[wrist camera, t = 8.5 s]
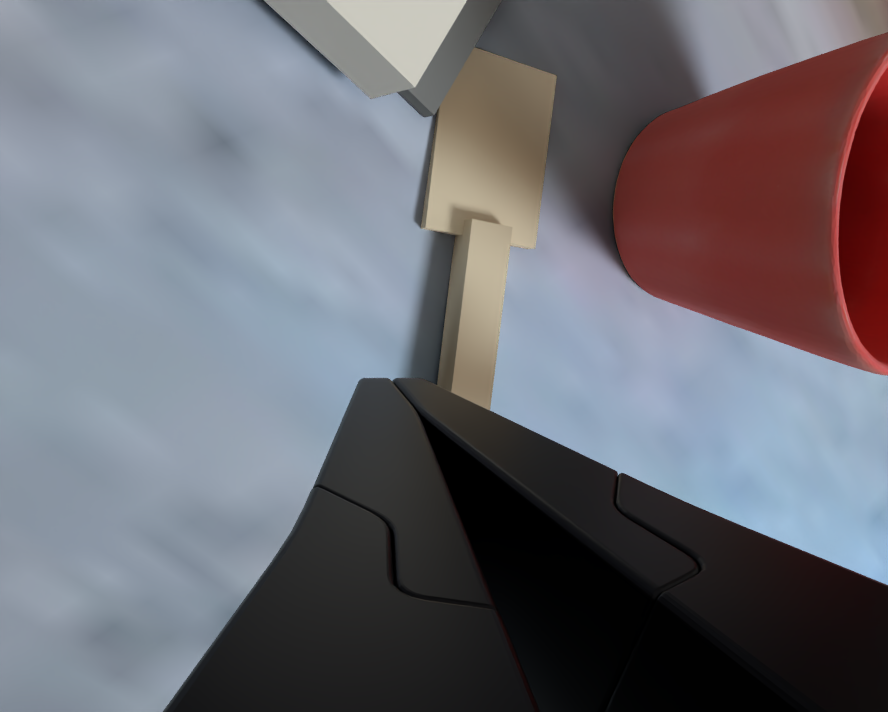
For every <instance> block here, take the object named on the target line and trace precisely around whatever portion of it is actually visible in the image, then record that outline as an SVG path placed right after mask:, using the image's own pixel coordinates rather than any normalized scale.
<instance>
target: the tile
mask: <svg viewBox="0 0 888 712" xmlns="http://www.w3.org/2000/svg"><path fill="white" fill-rule="evenodd" d="M264 1H265V2H266V3H267V4H268V5H269V6H270V7H271V8H273V9H274V10H275V11H276V12H277V13H278V14H279V15H280V16H281V17H282V18H283V19H285V20H286V21H287V22H288V23H289V24H290V25H291V26H292V27H293V28H294V29H295V30H296V31H298V32H299V33H300V34H301V35H302V36H303V37H304V38H305V39H306V40H307V41H308V42H309V43H311V44H312V45H313V46H314V47H315V48H316V49H317V50H318V51H319V52H320V53H321V54H323V55H324V56H325V57H326V58H327V59H328V60H329V61H330V62H331V63H332V64H333V65H334V66H336V67H337V68H338V69H339V70H340V71H341V72H342V73H343V74H344V75H345V76H346V77H348V78H349V79H350V80H351V81H352V82H353V83H354V84H355V85H356V86H357V87H358V88H359V89H361V90H362V91H363V92H364V93H365V94H366V95H367V96H368V97H369V98H370V99H373V98H377V97H381V96H384V95H388V94H392V93H396V92H400V91H404V90H408V89H411V88H415V87H416V85H417V84H418V82H419V80H420V78H421V77H422V75H423V73H424V72H425V70H426V68H427V67H428V65H429V63H430V62H431V60H432V58H433V57H434V55H435V53H436V52H437V50H438V48H439V47H440V45H441V43H442V42H443V40H444V38H445V37H446V35H447V33H448V32H449V30H450V28H451V26H452V25H453V23H454V21H455V20H456V18H457V16H458V15H459V13H460V11H461V10H462V8H463V6H464V5H465V3H466V1H467V0H264Z"/></svg>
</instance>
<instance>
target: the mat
mask: <svg viewBox="0 0 888 712" xmlns="http://www.w3.org/2000/svg"><path fill="white" fill-rule="evenodd" d="M501 1H502V0H467V1H466V3H465V5H464V6H463V8H462V10H461V11H460V13H459V15H458V16H457V18H456V20H455V21H454V23H453V25H452V26H451V28H450V30H449V32H448V33H447V35H446V37H445V38H444V40H443V42H442V43H441V45H440V47H439V48H438V50H437V52H436V53H435V55H434V57H433V58H432V60H431V62H430V63H429V65H428V67H427V68H426V70H425V72H424V73H423V75H422V77H421V78H420V80H419V82H418V84H417V85H416V87H415V88H411V89H408V90H404V91H400V92H398V93H399V94H400V95H401V96H402V97H403V98H404V99H405V100H406V101H407V102H408V103H409V104H410V105H412V106H413V107H414V108H415V109H416V110H417V111H418V112H419V113H420V114H421V115H422V116H423V117H428V116H433V115H435V113H436V112H437V110H438V108H439V106H440V105H441V103H442V101H443V100H444V98H445V96H446V95H447V93H448V91H449V89H450V88H451V86H452V84H453V83H454V81H455V79H456V78H457V76H458V74H459V72H460V71H461V69H462V67H463V66H464V64H465V62H466V61H467V59H468V57H469V55H470V54H471V52H472V50H473V49H474V47H475V45H476V44H477V42H478V40H479V38H480V37H481V35H482V33H483V32H484V30H485V28H486V27H487V25H488V23H489V21H490V20H491V18H492V16H493V15H494V13H495V11H496V9H497V8H498V6H499V4H500V3H501Z"/></svg>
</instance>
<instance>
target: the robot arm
mask: <svg viewBox="0 0 888 712" xmlns="http://www.w3.org/2000/svg"><path fill="white" fill-rule="evenodd" d="M163 712H888V585H886V584H883V583H881V582H878V581H876V580H873V579H871V578H869V577H866V576H864V575H861V574H859V573H856V572H854V571H851V570H849V569H847V568H844V567H842V566H839V565H837V564H834V563H832V562H829V561H827V560H824V559H822V558H820V557H817V556H815V555H812V554H810V553H807V552H805V551H802V550H800V549H797V548H795V547H793V546H790V545H788V544H785V543H783V542H780V541H778V540H775V539H773V538H770V537H768V536H766V535H763V534H761V533H758V532H756V531H753V530H751V529H748V528H746V527H744V526H741V525H739V524H736V523H734V522H731V521H729V520H727V519H724V518H722V517H720V516H717V515H715V514H713V513H710V512H708V511H705V510H703V509H701V508H698V507H696V506H694V505H691V504H689V503H687V502H684V501H682V500H680V499H678V498H676V497H673V496H671V495H669V494H667V493H665V492H662V491H660V490H658V489H656V488H654V487H652V486H649V485H647V484H645V483H643V482H641V481H639V480H637V479H635V478H632V477H630V476H628V475H626V474H624V473H620V474H619V475H618V473H617V471H615V470H613V469H611V468H609V467H607V466H605V465H603V464H601V463H598V462H596V461H594V460H592V459H590V458H588V457H586V456H584V455H582V454H580V453H578V452H575V451H573V450H571V449H569V448H567V447H565V446H563V445H561V444H559V443H557V442H555V441H552V440H550V439H548V438H546V437H544V436H542V435H540V434H538V433H536V432H534V431H531V430H529V429H527V428H525V427H523V426H521V425H519V424H517V423H515V422H513V421H511V420H508V419H506V418H504V417H502V416H500V415H498V414H496V413H494V412H492V411H490V410H488V409H485V408H483V407H481V406H479V405H477V404H475V403H473V402H471V401H469V400H467V399H465V398H462V397H460V396H458V395H456V394H454V393H452V392H450V391H448V390H446V389H444V388H441V387H439V386H437V385H435V384H433V383H431V382H429V381H427V380H425V379H421V378H396V379H394V380H393V381H391V380H390V379H388V378H362V379H360V381H359V382H358V384H357V386H356V389H355V391H354V393H353V396H352V398H351V400H350V403H349V405H348V407H347V410H346V412H345V414H344V417H343V419H342V421H341V424H340V426H339V428H338V431H337V433H336V435H335V438H334V440H333V442H332V445H331V447H330V449H329V452H328V454H327V456H326V459H325V461H324V463H323V466H322V468H321V470H320V473H319V475H318V477H317V480H316V482H315V484H314V487H313V489H312V490H311V492H310V494H309V496H308V499H307V501H306V503H305V505H304V508H303V510H302V512H301V514H300V515H299V517H298V519H297V521H296V523H295V525H294V527H293V529H292V531H291V533H290V534H289V536H288V537H287V539H286V540H285V542H284V544H283V545H282V547H281V548H280V550H279V551H278V553H277V554H276V556H275V557H274V559H273V560H272V562H271V563H270V565H269V566H268V567H267V569H266V570H265V571H264V573H263V574H262V576H261V577H260V578H259V580H258V581H257V582H256V584H255V585H254V587H253V588H252V589H251V591H250V592H249V594H248V595H247V596H246V598H245V599H244V600H243V602H242V603H241V605H240V606H239V607H238V609H237V610H236V611H235V613H234V614H233V616H232V617H231V618H230V620H229V621H228V622H227V624H226V625H225V627H224V628H223V629H222V631H221V632H220V634H219V635H218V636H217V638H216V639H215V640H214V642H213V643H212V645H211V646H210V647H209V649H208V650H207V651H206V653H205V654H204V656H203V657H202V658H201V660H200V661H199V663H198V664H197V665H196V667H195V668H194V669H193V671H192V672H191V674H190V675H189V676H188V678H187V679H186V680H185V682H184V683H183V685H182V686H181V687H180V689H179V690H178V692H177V693H176V694H175V696H174V697H173V698H172V700H171V701H170V703H169V704H168V705H167V707H166V708H165V709H164V711H163Z"/></svg>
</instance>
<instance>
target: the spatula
mask: <svg viewBox="0 0 888 712" xmlns="http://www.w3.org/2000/svg"><path fill="white" fill-rule="evenodd" d="M556 78H557V75H554V74H551V73H548V72H545V71H542V70H539V69H536V68H533V67H530V66H528V65H525V64H522V63H519V62H516V61H513V60H510V59H507V58H504V57H502V56H499V55H496V54H493V53H490V52H487V51H484V50H481V49H478V48H475V47H474V49H473V50H472V52H471V54H470V55H469V57H468V59H467V61H466V62H465V64H464V66H463V67H462V69H461V71H460V72H459V74H458V76H457V78H456V79H455V81H454V83H453V84H452V86H451V88H450V89H449V91H448V93H447V95H446V96H445V98H444V100H443V101H442V103H441V105H440V106H439V108H438V110H437V116H436V123H435V130H434V137H433V144H432V151H431V158H430V166H429V173H428V180H427V187H426V194H425V201H424V208H423V215H422V223H421V229H426V230H431V231H436V232H441V233H446V234H451V235H455V242H454V249H453V256H452V264H451V272H450V281H449V289H448V297H447V306H446V314H445V322H444V331H443V339H442V347H441V356H440V364H439V373H438V381H437V386H439V387H441V388H444V389H446V390H448V391H450V392H452V393H454V394H456V395H458V396H460V397H462V398H465V399H467V400H469V401H471V402H473V403H475V404H477V405H479V406H481V407H483V408H485V409H488V410H490V405H491V397H492V389H493V381H494V373H495V365H496V357H497V349H498V341H499V333H500V324H501V316H502V308H503V300H504V292H505V284H506V276H507V268H508V260H509V252H510V246H514V247H519V248H525V249H535V245H536V237H537V229H538V222H539V214H540V206H541V198H542V190H543V182H544V174H545V166H546V158H547V150H548V142H549V134H550V126H551V118H552V110H553V102H554V94H555V86H556Z"/></svg>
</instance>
